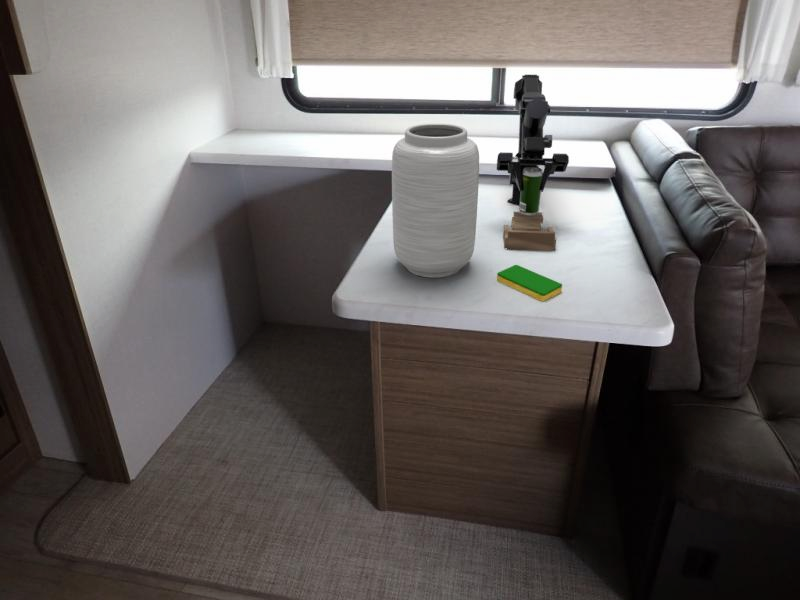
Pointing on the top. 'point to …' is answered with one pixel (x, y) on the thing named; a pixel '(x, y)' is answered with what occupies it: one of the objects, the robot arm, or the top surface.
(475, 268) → the top surface
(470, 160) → the vase
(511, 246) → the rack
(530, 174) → the beer can
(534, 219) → the offcut stack
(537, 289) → the dish sponge
